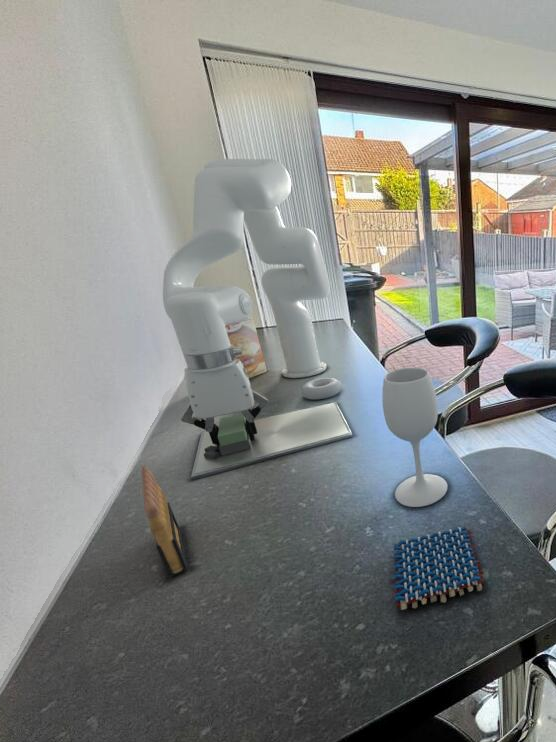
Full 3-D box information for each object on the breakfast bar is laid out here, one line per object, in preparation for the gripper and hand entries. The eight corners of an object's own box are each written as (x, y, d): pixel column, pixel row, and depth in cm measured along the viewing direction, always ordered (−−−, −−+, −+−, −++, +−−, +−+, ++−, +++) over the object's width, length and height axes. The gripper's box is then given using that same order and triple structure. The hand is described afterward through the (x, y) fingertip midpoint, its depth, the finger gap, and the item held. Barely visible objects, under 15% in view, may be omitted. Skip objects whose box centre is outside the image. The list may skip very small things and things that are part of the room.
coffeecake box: (222, 389, 112) (201, 321, 105) (205, 386, 115) (183, 320, 108) (268, 371, 125) (252, 310, 118) (252, 369, 128) (235, 309, 121)
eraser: (223, 435, 85) (218, 418, 84) (250, 428, 88) (245, 412, 86) (221, 456, 77) (215, 438, 76) (251, 448, 80) (245, 430, 78)
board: (202, 434, 88) (201, 431, 87) (336, 403, 101) (335, 401, 101) (192, 480, 72) (190, 476, 71) (352, 436, 85) (352, 433, 85)
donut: (295, 402, 103) (333, 401, 102) (292, 390, 101) (330, 389, 101) (313, 387, 112) (348, 386, 112) (310, 376, 111) (346, 375, 110)
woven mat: (486, 592, 48) (486, 579, 47) (397, 616, 46) (394, 604, 45) (469, 532, 58) (468, 521, 57) (394, 550, 55) (392, 538, 54)
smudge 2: (205, 452, 79) (204, 448, 79) (212, 448, 80) (210, 445, 80) (215, 454, 78) (214, 451, 78) (222, 450, 79) (221, 447, 79)
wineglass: (422, 514, 61) (406, 390, 54) (384, 496, 66) (363, 379, 58) (458, 484, 68) (447, 370, 60) (420, 470, 73) (406, 361, 65)
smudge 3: (204, 457, 77) (203, 453, 77) (211, 453, 78) (210, 450, 78) (214, 459, 76) (213, 456, 76) (221, 455, 78) (220, 452, 77)
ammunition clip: (187, 570, 53) (156, 496, 48) (170, 578, 51) (135, 503, 47) (179, 528, 60) (151, 461, 56) (164, 535, 59) (134, 466, 54)
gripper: (260, 346, 83) (281, 423, 90) (157, 362, 75) (188, 445, 81) (262, 355, 77) (284, 437, 84) (149, 373, 69) (183, 462, 76)
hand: (236, 440), depth 83 cm, fingers closed on eraser, 5 cm apart
